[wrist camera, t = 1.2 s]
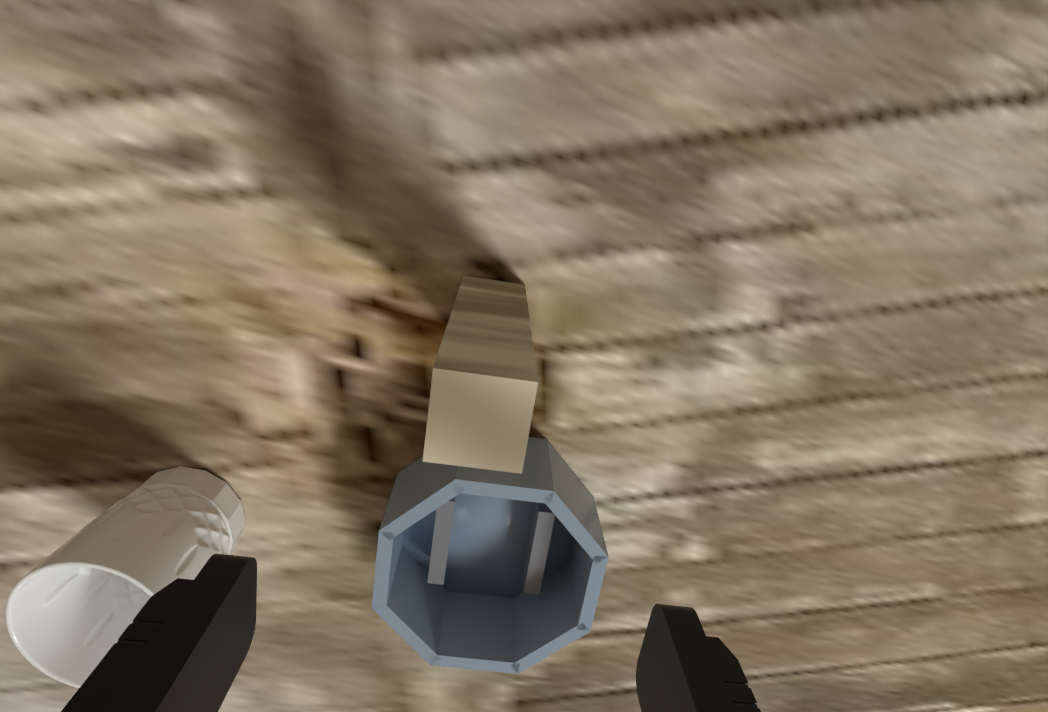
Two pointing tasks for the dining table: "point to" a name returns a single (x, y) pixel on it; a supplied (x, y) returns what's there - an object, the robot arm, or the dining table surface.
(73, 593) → the white cup
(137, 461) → the dining table surface
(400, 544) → the blue octagonal holder
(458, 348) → the tan square peg
